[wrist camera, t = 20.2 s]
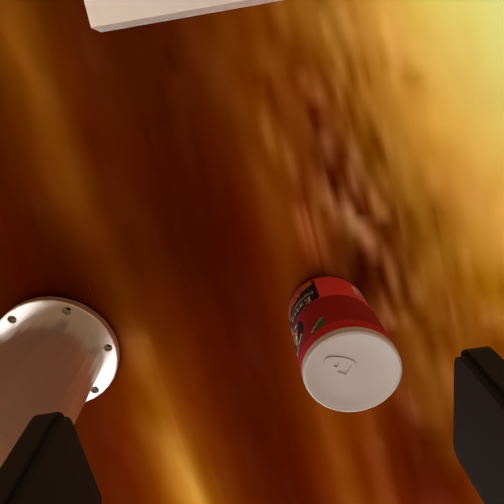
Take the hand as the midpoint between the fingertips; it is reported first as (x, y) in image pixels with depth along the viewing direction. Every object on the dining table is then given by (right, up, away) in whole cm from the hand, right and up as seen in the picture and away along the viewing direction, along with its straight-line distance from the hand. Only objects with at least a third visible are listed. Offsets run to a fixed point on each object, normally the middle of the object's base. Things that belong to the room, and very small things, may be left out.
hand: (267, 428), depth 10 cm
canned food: (+7, -1, +33) cm, 34 cm away
